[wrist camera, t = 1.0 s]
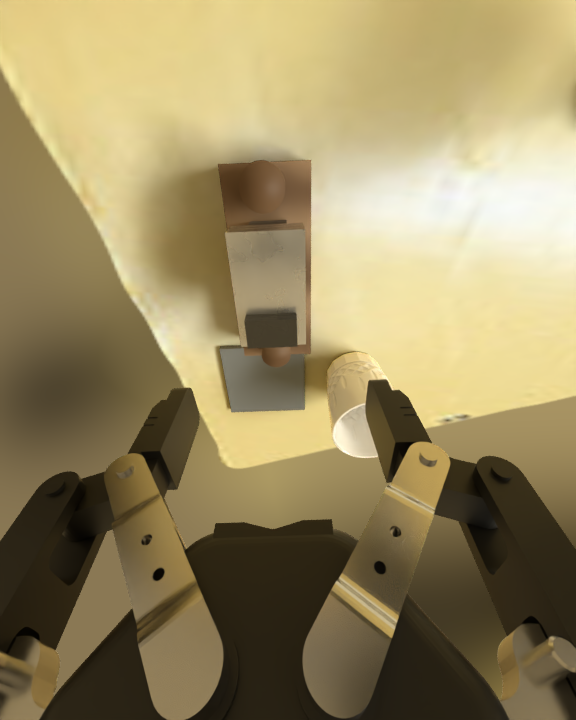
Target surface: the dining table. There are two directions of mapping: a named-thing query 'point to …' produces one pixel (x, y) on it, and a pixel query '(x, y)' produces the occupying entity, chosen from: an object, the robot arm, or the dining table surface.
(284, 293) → the lever cap
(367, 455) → the white cup
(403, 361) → the dining table surface
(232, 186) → the plane body
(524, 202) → the dining table surface
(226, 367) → the slate mat
